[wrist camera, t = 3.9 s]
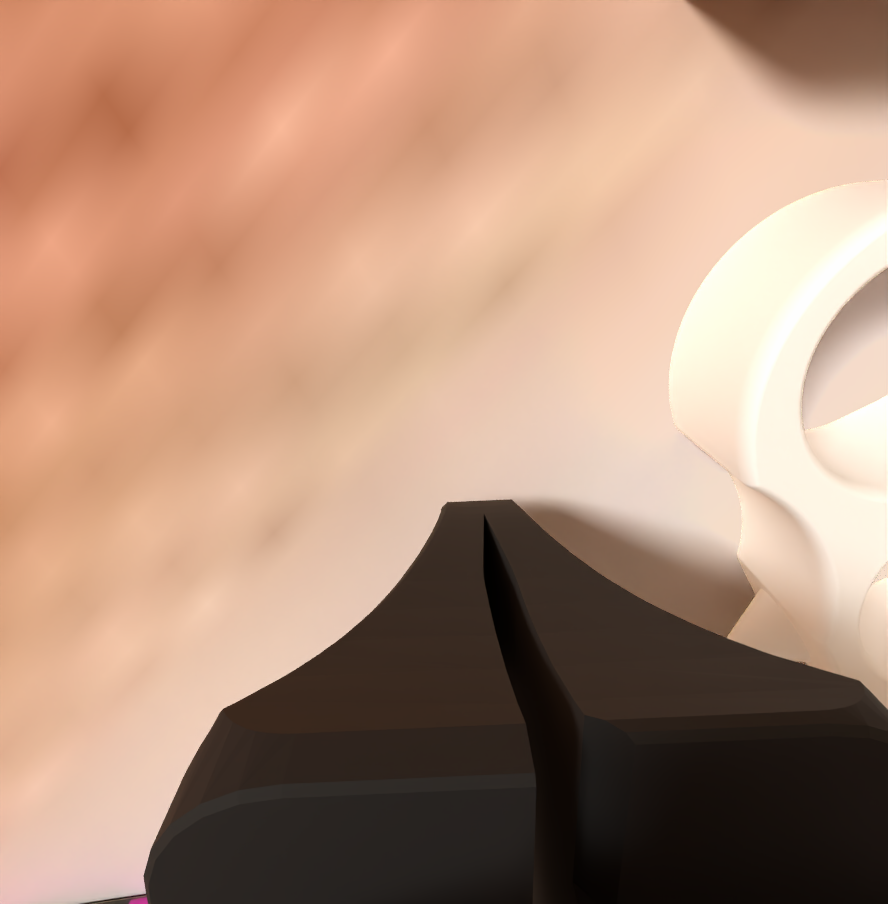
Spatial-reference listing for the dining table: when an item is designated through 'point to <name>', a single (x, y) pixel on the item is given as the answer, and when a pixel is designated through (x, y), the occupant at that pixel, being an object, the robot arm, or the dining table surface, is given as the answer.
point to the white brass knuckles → (795, 431)
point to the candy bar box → (127, 901)
